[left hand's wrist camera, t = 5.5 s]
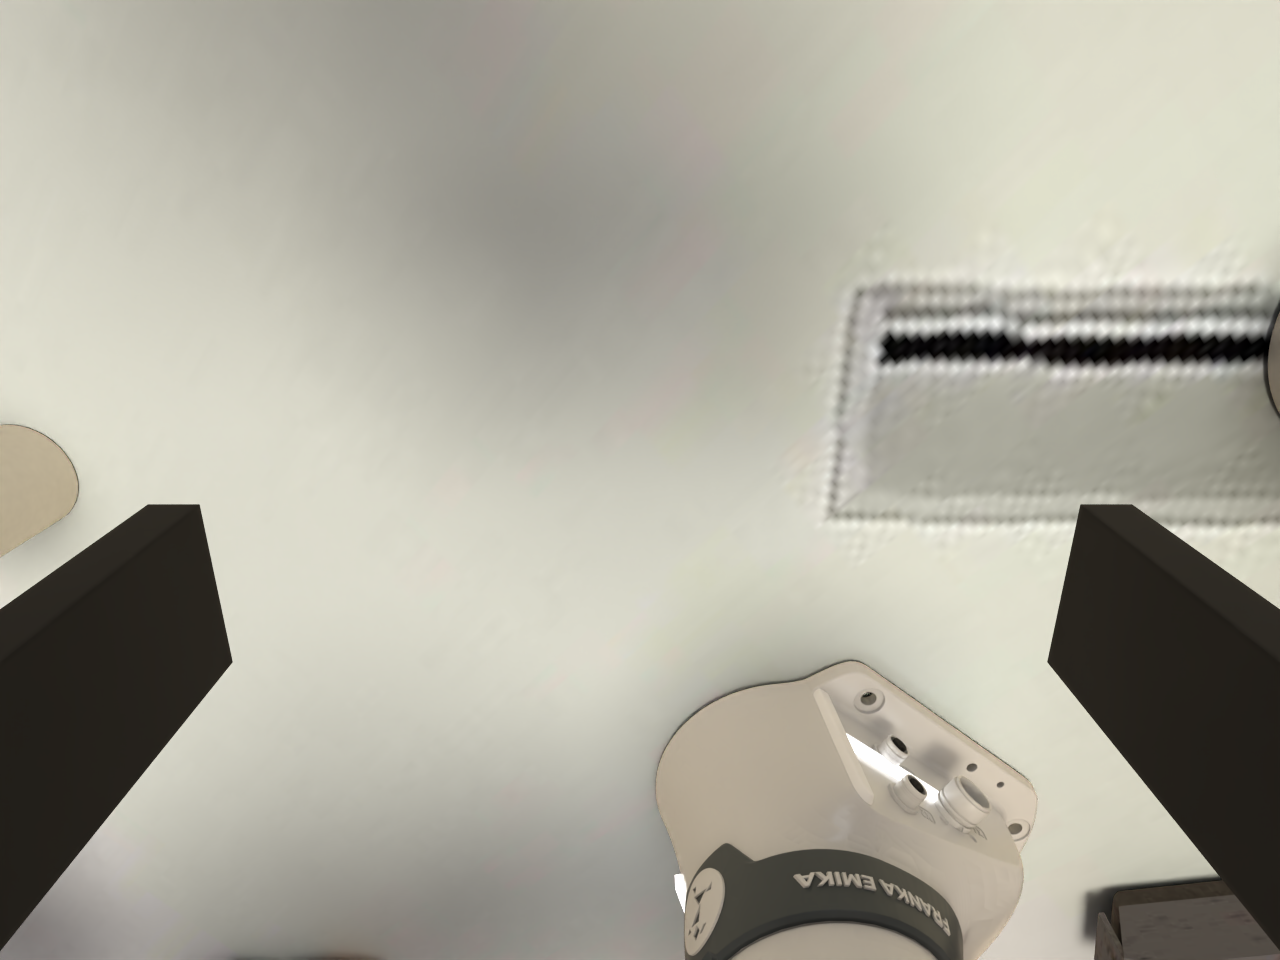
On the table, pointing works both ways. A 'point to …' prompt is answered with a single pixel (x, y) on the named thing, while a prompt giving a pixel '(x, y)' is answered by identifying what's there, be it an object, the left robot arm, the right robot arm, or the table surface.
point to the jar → (32, 485)
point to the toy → (1181, 926)
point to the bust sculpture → (1275, 364)
